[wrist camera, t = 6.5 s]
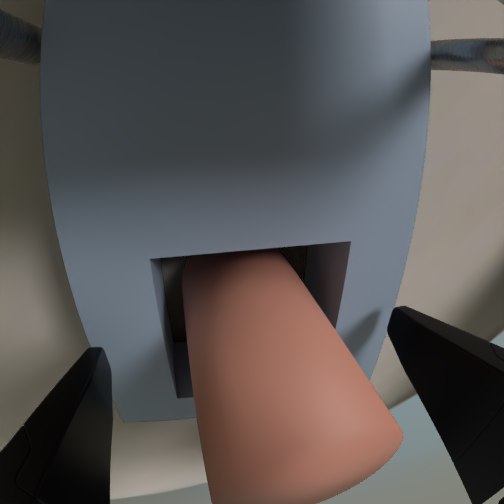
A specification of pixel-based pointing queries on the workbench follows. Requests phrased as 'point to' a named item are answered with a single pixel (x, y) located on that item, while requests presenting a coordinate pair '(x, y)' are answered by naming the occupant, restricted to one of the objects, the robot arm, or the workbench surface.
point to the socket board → (230, 161)
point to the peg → (276, 386)
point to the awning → (442, 51)
